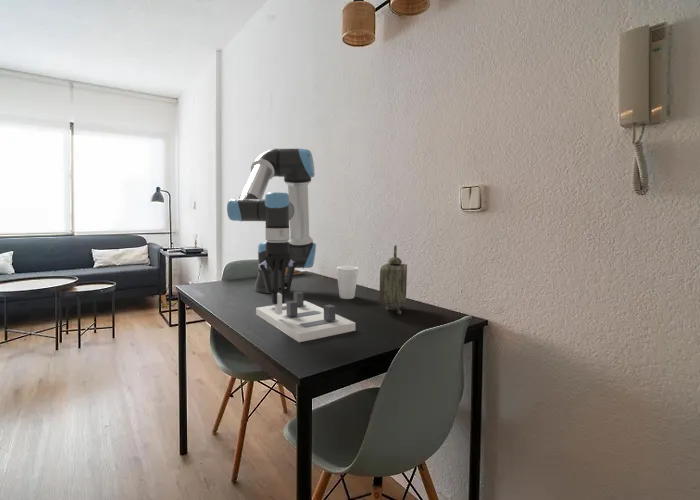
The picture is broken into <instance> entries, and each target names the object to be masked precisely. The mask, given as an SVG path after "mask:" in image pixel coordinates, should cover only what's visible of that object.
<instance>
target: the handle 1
mask: <svg viewBox="0 0 700 500" xmlns="http://www.w3.org/2000/svg"><path fill="white" fill-rule="evenodd" d="M293 301H295V302H297V306H302V305H303V301H304V293H303V292H301V291H294V292H293Z"/></svg>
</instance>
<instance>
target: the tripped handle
mask: <svg viewBox="0 0 700 500" xmlns="http://www.w3.org/2000/svg"><path fill="white" fill-rule="evenodd" d="M286 303H287V315H288V316H290V317H292V316H297V302H295V301H294V300H287V301H286Z"/></svg>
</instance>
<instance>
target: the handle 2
mask: <svg viewBox="0 0 700 500" xmlns="http://www.w3.org/2000/svg"><path fill="white" fill-rule="evenodd" d="M323 309H324V319H325V320H327V321H333V320H335V314H336V305H334V304H325V305H323Z"/></svg>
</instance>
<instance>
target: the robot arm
mask: <svg viewBox="0 0 700 500" xmlns="http://www.w3.org/2000/svg"><path fill="white" fill-rule="evenodd" d="M313 157H314V156H313V154H312V152H311V150H309V149H307V148H305V149H304V148H271V149H269V150H266V151H264V152H263V153H261V154H259V155H258V156H256V158H255V159H254V160H253V162H252V164H251V166H250V173H249V176H248V178H247V181H246V182H245V184H244V187H243V189H242V190H241V193H240V195H239V197H238V198H237V197H236V198H230V199H229V200H227V205H226V206H227V207H226V212H227V217H228V218H229V220H230V221H232V222H233V221H235V222H236V221H237V222H265V241H262V242H260V243H259V244H258V246H257V247H258V250H257V251H258V252H257V254H258V255H257V257H258V258H257V260H258V262H257V263H258V264H257V269H258V271H259V272H258V274H257V278H256V280H255V284H254V291H255V292H258V293H261V294H262V293H264V294H271V303H272V305H275V313H276V314H278V315H279V314H282V304H285V298H286V297H285V295H286V294H287V292H289V291H291V288H292V287H291V286H292V281H293V278H294V275H293V274H294V269H295V270H296V269H310V268H312V267H314V263H315V259H316V249H317V243H315V242H314V239H313V238H312V236H310V218H309V217H310V215H309V214H310V213H309V212H310V211H309V208H310V207H309V184H310V183H312V178H314V177H315V163H314V158H313ZM274 177H280V178H281V177H282V178H283V180H284V183H285V184H286V185H287V192H267V193H266V194H265V192H266V189H267V187H268V184H269V182H270V180H271V179H273V178H274ZM264 195H265V198H264V199H263V197H264ZM286 268H288V270H287V275H286V276H285V272H286Z"/></svg>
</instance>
